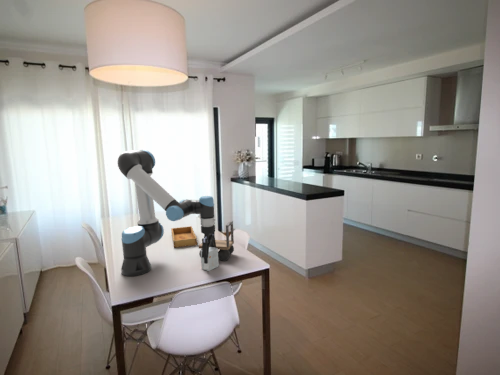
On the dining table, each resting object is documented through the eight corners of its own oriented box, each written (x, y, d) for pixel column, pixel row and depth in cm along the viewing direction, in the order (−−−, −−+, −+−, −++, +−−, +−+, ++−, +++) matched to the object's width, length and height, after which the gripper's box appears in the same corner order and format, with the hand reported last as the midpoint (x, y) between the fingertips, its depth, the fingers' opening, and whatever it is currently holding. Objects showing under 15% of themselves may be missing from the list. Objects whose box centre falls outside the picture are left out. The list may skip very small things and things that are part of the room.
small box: (211, 264, 174) (211, 246, 173) (219, 266, 171) (218, 248, 169) (201, 268, 168) (200, 250, 167) (208, 271, 165) (207, 252, 163)
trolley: (229, 261, 177) (227, 225, 174) (199, 259, 181) (197, 224, 178) (234, 253, 189) (232, 220, 186) (206, 252, 193) (204, 219, 190)
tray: (197, 245, 208) (196, 237, 207) (174, 248, 203) (173, 240, 203) (192, 233, 237) (191, 226, 236) (171, 235, 233) (171, 228, 232)
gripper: (207, 231, 154) (209, 273, 158) (220, 220, 176) (222, 257, 179) (193, 230, 156) (196, 272, 159) (208, 219, 177) (210, 257, 181)
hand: (210, 264), depth 169 cm, fingers closed on small box, 9 cm apart
